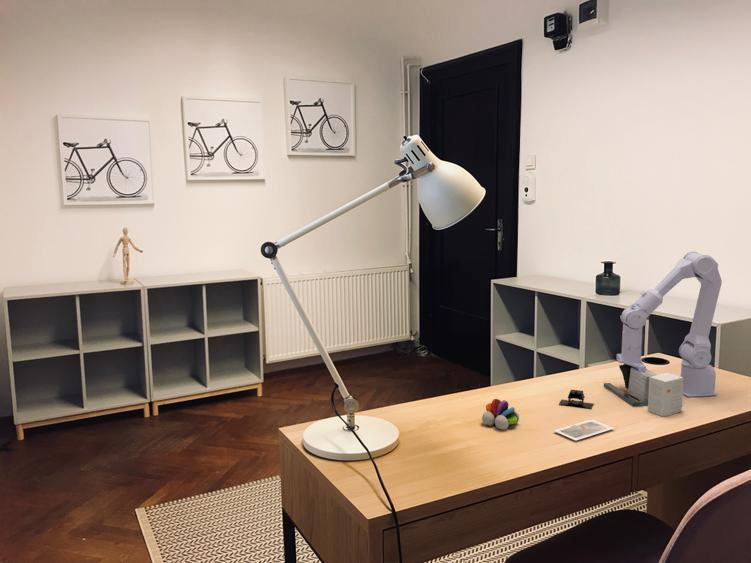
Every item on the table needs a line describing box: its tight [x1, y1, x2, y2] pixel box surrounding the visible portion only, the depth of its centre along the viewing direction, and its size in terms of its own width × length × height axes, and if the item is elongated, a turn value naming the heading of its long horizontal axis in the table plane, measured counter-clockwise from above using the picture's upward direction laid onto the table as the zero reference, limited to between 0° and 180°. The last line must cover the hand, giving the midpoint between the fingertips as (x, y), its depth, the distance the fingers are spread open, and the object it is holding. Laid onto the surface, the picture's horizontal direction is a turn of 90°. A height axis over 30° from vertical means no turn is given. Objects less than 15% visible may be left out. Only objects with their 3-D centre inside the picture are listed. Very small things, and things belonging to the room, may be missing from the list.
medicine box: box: [627, 367, 658, 401], centre depth 197 cm, size 8×4×9 cm, turn 14°
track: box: [603, 382, 648, 408], centre depth 202 cm, size 11×19×1 cm, turn 6°
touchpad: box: [553, 418, 615, 441], centre depth 174 cm, size 8×15×2 cm, turn 121°
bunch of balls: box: [481, 398, 520, 431], centre depth 179 cm, size 8×10×7 cm
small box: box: [647, 372, 684, 418], centre depth 187 cm, size 8×6×10 cm
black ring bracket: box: [558, 389, 595, 410], centre depth 195 cm, size 12×7×5 cm, turn 64°
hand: (629, 388), depth 204 cm, fingers closed
